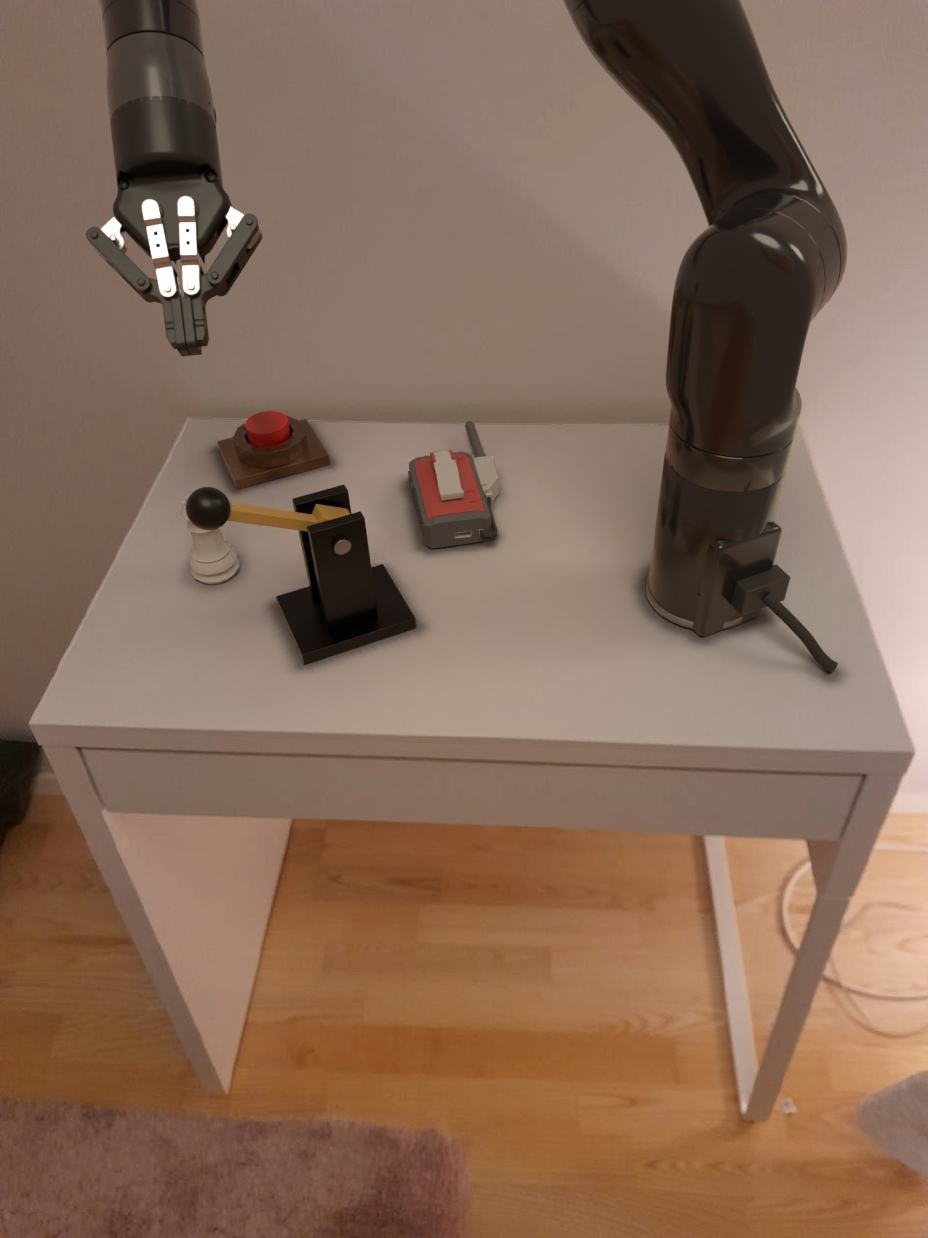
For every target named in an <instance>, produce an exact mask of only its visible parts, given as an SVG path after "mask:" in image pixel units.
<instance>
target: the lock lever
mask: <svg viewBox="0 0 928 1238" xmlns="http://www.w3.org/2000/svg"><path fill="white" fill-rule="evenodd" d="M189 495H190V496H189V498H188V500H187V503H186V513H187V516H188V518H189V520H190V521H191V523H192V524H193V525H195V526H196V527H198V528H200V529H202V530H215V529H218V528H219V529H220V528H222V527H223V526H224V525H226V523H227V522H234V523H241V524H250V525H256V526H263V527H272V528H279V529H284V530H293V531H298V530H299V531H306V532H308V531H307V526H311V525H314V524H317V523H321V522H324V521H328V520H331V519H335V518H338V517H342V516H345V515H349V514H350V513H349V511H348V510H347V509H345V508H339V507H333V506H326V505H320V504H316V505H315V507H314V510H313V512H312V515H311V514H305V513H298V512H295V511H290V510H284V509H277V508H270V507H263V506H257V505H250V504H245V503H244V504H243V503H237V502H230V500H229V498H228V497H227V495H226V494H225V493H224V492H223V491H222V490H220V489H219V488H217V487H213V486H203V487H199V488H197V489H195V490H194V491H192V492H191V494H189ZM299 531H298V532H299Z"/></svg>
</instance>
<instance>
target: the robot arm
mask: <svg viewBox="0 0 928 1238" xmlns="http://www.w3.org/2000/svg"><path fill="white" fill-rule="evenodd" d="M562 1H563V4H564V6H565V9H566V11H567V12H568V15H569V17H570V18H571V21H572V23H573V25H574V27H575V29H576V30H577V32H578V35H579V36H580V38H581V40H582V41H583V43H584V44H585V46H586V49H588V51H589V52H590V54H591V56H592V57H593V58H594V59H595V60H596V62H597V63H598V64H599V65H600V66H601V68H602V69H603V70H604V71H605V72H606V74H607V75H608V76H609V77H610V78H611V79H612V80H613V82H615V84H616V85H618V87H619V88H620V89H621V90H622V91H623V92H624V93H625V94H626V95H627V96H628V97H629V98H630V99H631V100H632V101H633V102H634V103H635V104H636V105H637V106H638V107H639V108H640V109H641V110H642V111H643V112H644V113H645V114H646V115H647V116H648V117H649V118H650V119H651V120H652V121H653V123H654V124H656V126H658V128H659V129H660V130H661V131H662V132H663V134H664V135H665V136H666V137H667V139H668V140H669V142H670V143H671V144H672V146H673V147H674V149H675V151H676V152H677V154H678V156H679V158H680V159H681V162H682V163H683V166H684V167H685V169H686V171H687V174H688V177H689V178H690V181H691V183H692V185H693V188H694V191H695V192H696V196H697V197H698V200H699V202H700V206H701V207H702V210H703V213H704V216H705V219H706V222H707V225H708V227H707V228H705V230H703V231H702V232H701V233H700V234H699V235H698V236H697V237H696V238H695V239H694V240H693V241H692V243H691V244H690V245H689V247H688V248H687V249H686V252H685V253H684V255H683V256H682V259H681V262H680V263H679V268H678V270H677V274H676V277H675V282H674V288H673V294H672V301H671V308H670V319H669V328H668V329H669V331H668V341H667V342H668V343H667V357H666V367H665V387H666V392H667V395H668V398H669V402H670V414H669V421H668V428H667V436H666V445H665V452H664V458H663V466H662V474H661V479H660V486H659V487H660V488H659V496H658V503H657V509H656V519H655V526H654V532H653V540H652V547H651V557H650V565H649V573H648V575H647V578H646V585H645V586H646V588H645V593H646V597H647V599H648V602H649V604H650V605H651V607H652V608H653V609H654V610H655V611H656V613H658V614H659V615H660V616H662V618H664V619H666V620H668V621H669V622H671V623H673V624H675V625H678V626H681V627H684V628H687V629H691V630H693V631H694V632H695V633H696V634H697V635H698V636H699V637H706V636H709V635H711V634H714V633H717V632H720V631H723V630H726V629H729V628H732V627H735V626H737V625H740V624H741V623H745V622H747V621H751V620H753V619H756V618H759V617H760V616H761V615H762V613H763V609H764V608H768V609H769V610H770V611H771V612H773V613H774V615H776V616H777V618H779V619H780V620H781V621H782V622H783V623H784V624H785V625H786V626H787V627H788V628H789V629H790V630H791V632H793V634H794V635H795V636H796V637H797V638H798V639H799V640H800V642H802V644H803V645H804V646H805V648H806V650H807V651H808V652H809V654H810V655H811V656H812V658H813V660H815V662H816V663H817V664H819V666H820V667H821V668H823V670H824V671H827V672H829V673H833V672H835V670H836V669H837V667H838V662H837V661H835V660H833V659H832V658H831V657H829V655H828V654H826V652H825V651H824V650H823V648H822V647H821V646H820V644H819V642H818V641H817V640H816V639H815V637H814V636H813V634H812V633H811V632H810V631H809V629H807V628H806V626H805V625H804V624H803V623H802V622H801V621H800V620H799V619H798V618H797V617H796V616H795V615H794V614H793V613H792V612H791V610H789V609H788V608H787V607H785V605H784V604H783V603H781V602H783V601H785V598H786V595H787V592H788V588H789V585H790V580H791V576H790V575H789V574H788V573H787V572H785V570H784V569H782V568H781V567H780V566H779V565H778V564H775V560H776V555H777V552H778V548H779V543H780V540H781V537H782V532H783V528H782V526H780V525H779V523H777V522H776V521H775V520H776V515H777V511H778V507H779V503H780V499H781V495H782V491H783V487H784V483H785V478H786V474H787V470H788V466H789V462H790V458H791V454H792V450H793V446H794V442H795V437H796V434H797V430H798V426H799V421H800V418H801V414H802V408H803V407H802V405H803V402H802V396H801V393H800V391H799V389H798V388H797V382H798V377H799V372H800V367H801V362H802V358H803V354H804V349H805V345H806V340H807V336H808V333H809V329H810V325H811V323H812V322H813V321H814V319H815V318H816V317H817V316H818V315H819V314H820V312H821V311H822V310H823V309H824V308H825V307H826V305H827V304H828V303H829V301H830V300H831V299H832V298H833V297H834V295H835V293H836V292H837V290H838V289H839V287H840V285H841V283H842V281H843V278H844V274H845V272H846V268H847V261H848V240H847V235H846V230H845V227H844V224H843V222H842V219H841V216H840V214H839V212H838V210H837V208H836V205H835V203H834V201H833V199H832V198H831V196H830V193H829V192H828V190H827V188H826V186H825V184H824V182H823V181H822V178H821V177H820V175H819V173H818V171H817V169H816V168H815V165H814V164H813V162H812V160H811V158H810V156H809V155H808V153H807V151H806V150H805V147H804V145H803V143H802V141H801V139H800V138H799V136H798V134H797V132H796V130H795V129H794V126H793V125H792V123H791V120H790V119H789V117H788V115H787V113H786V111H785V109H784V106H783V104H782V103H781V101H780V99H779V96H778V93H777V92H776V89H775V87H774V86H773V83H772V80H771V77H770V74H769V72H768V70H767V67H766V64H765V62H764V59H763V56H762V54H761V50H760V48H759V45H758V42H757V40H756V37H755V34H754V31H753V28H752V26H751V23H750V21H749V18H748V15H747V13H746V11H745V8H744V6H743V3H742V1H741V0H562ZM97 2H98V4H99V5H98V6H99V7H100V8H99V9H100V12H101V13H100V14H101V25H102V31H103V40H104V41H103V42H104V48H105V58H106V76H105V79H106V80H105V81H106V82H105V83H106V84H105V85H106V86H105V87H106V99H107V107H108V108H107V109H108V116H109V118H108V119H109V127H110V134H111V143H112V151H113V152H112V153H113V160H114V170H115V178H116V187H117V193H116V197H115V199H114V202H113V204H112V214H113V216H112V217H111V218H110V219H109V220H108V221H107V222H105V224H104V225H103V226H102V227H101V228H99V227H98V226H91V227H89V228H88V229H87V230H86V233H85V237H86V239H87V241H88V242H89V244H90V245H91V246H92V247H93V249H94V250H95V252H96V253H97V254H98V255H99V256H100V257H101V258H102V259H103V260H104V261H105V262H106V263H107V264H108V265H109V266H110V267H111V268H112V269H113V270H114V271H115V272H116V273H117V274H118V275H119V277H121V278H122V279H123V280H124V281H125V282H126V283H127V284H128V285H129V286H130V287H131V288H132V289H133V290H134V291H135V293H137V294H138V295H139V297H141V298H142V299H143V301H145V302H146V303H151V304H152V303H156V304H157V303H158V304H160V305H162V312H163V322H164V329H165V337H166V339H167V341H168V344H170V346H171V347H172V348H173V350H177V352H178V354H179V355H180V356H181V357H190V356H191V357H192V356H201V355H203V350H202V349H203V347H208V345H209V341H210V335H209V326H208V317H207V307H206V306H207V303H208V302H209V300H211V299H212V298H214V297H217V296H218V297H224V296H225V297H226V295H228V294H229V292H230V291H231V289H232V287H233V286H234V284H235V283H236V281H237V279H238V278H239V276H240V275H241V273H242V271H243V270H244V269H245V267H246V265H247V264H248V262H249V260H250V259H251V257H252V256H253V254H254V253H255V251H256V250H257V248H258V246H259V245H260V244H261V242H262V240H263V233H262V232H263V231H262V228H261V225H260V222H259V220H258V218H257V216H256V215H255V214H253V213H246V214H245V213H243V212H241V211H240V210H238V209H236V208H234V206H233V203H232V202H231V199H230V196H229V194H228V193H227V192H226V190H225V189H224V184H223V176H222V167H221V166H222V165H221V159H220V151H219V141H218V133H217V125H216V124H217V112H216V108H215V106H214V97H213V92H212V87H211V83H210V82H211V81H210V78H209V75H208V71H207V68H206V67H207V66H206V62H205V51H204V44H203V34H202V26H201V17H200V11H199V7H198V3H197V0H97ZM226 226H227V227H226ZM225 228H226V231H225V232H226V236H227V238H228V239H227V240H226V242H225V244H224V245H223V247H222V249H221V250H220V251H219V253H218V254H217V256H216V258H215V259H214V261H213V262H212V264H211V266H210V267H209V268H208V270H207V255H208V254H210V253H211V252H212V251H213V249H214V247H215V245H216V244H217V243H218V240H219V238H221V235H222V234H223V232H224V230H225ZM125 233H126V234H127V235H128V236H129V237H130V238H131V239H132V240H133V241H134V242H135V244H136V245H138V247H139V248H140V249H141V250H142V251H143V252H144V253H145V254H146V255H147V256H148V257H149V258H151V260H152V263H153V266H154V269H155V275H156V279H155V278H152V277H149V276H148V275H147V274H145V272H144V271H143V270H142V269H141V268H140V267H139V266H138V265H137V264H136V263H135V262H134V261H133V260H132V259H131V258H130V257H129V256H128V255H127V254H126V253H127V251H128V249H129V248H128V243H127V242H126V240H125V237H124V236H125ZM179 260H180V263H181V273H182V274H180V269H179V263H178V261H179ZM181 275H182V277H181ZM180 278H182V279H180ZM181 280H182V285H181ZM182 289H183V290H182Z"/></svg>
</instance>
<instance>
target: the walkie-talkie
mask: <svg viewBox="0 0 928 1238" xmlns="http://www.w3.org/2000/svg"><path fill="white" fill-rule="evenodd" d="M464 428H465V431H466V434H467V437H468V440H469V443H470V447H471V449H472V453H473V455H472V454H470V453H469V452H465V451H454V452H453V450H452V449H447V450H440V451H432V452H429V455H423V456H417V457H415V458H413V459H411V460H410V461H409V462H408V471H407V477H408V482H409V485H410V491H411V492H410V493H411V496H412V497H413V501H414V504H415V508H416V513H417V517H418V522H419V526H420V530H421V535H422V539H423V543H424V546H426V547H428V548H431V549H441V548H446V547H455V546H462V545H467V544H468V545H469V544H477V543H483V542H494V541H496V539H497V538H498V534H499V533H498V527H497V524H496V521H495V518H494V515H493V512H492V509H491V505H494V503H493V502H494V500H495V499H496V497H497V496H498V495H499V493H500V477H499V474H498V470H497V469H496V465H495V458H494V456H493V455H487V454H486V453H485V452H484V449H483V445H482V443H481V440H480V436H479V434H478V431H477V429H476V425H475V423H474V422H473V421H472V420H468V421H466V422H465V423H464Z"/></svg>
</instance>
